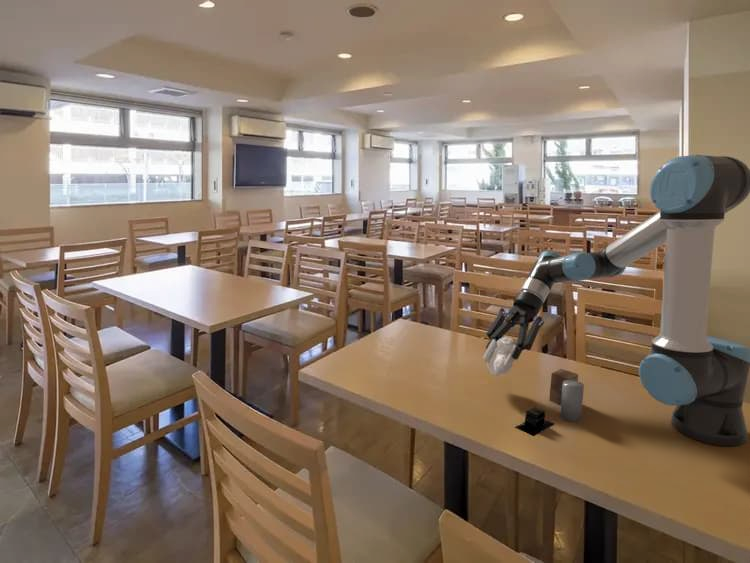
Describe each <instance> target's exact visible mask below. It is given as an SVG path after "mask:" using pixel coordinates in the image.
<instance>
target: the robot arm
mask: <svg viewBox="0 0 750 563" xmlns="http://www.w3.org/2000/svg"><path fill="white" fill-rule="evenodd" d="M749 194H750V168H749V166H747V164H746V163H745V162H743V161H741V160H740V159H738V158H735V157H731V156H726V155H721V156H720V155H719V156H716V155H715V156H714V155H702V154H691V155H690V154H689V155H681V156H677V157H674V158H671V159H670V160H668V161H666V162H665V163H663V165H661V167H660V168H657V171H656V172H655V174H654V175H653V177H652V179H651V182H650V186H649V196H650V200H651V201H652V203H653V204H654V207H656V208H657V209H658V210H659V211H657V212H656V213H655V214H653V215H651V216H650V217H649V218H646V220H644V221H643V222H641V223H640V224H638V225H636V226H635V227H634V228H633V229H632V228H631V229H630V230H629V231H627V232H626V233H624V234H623V235H622V236H619V238H617V239H616V240H615V241H613V242H611V243H610V244H609V245H607V246H605V247H604V248H602V249H601V250H599V251H596V252H584V251H583V252H573V253H570V254H566V255H561V254H560V253H558V252H555V251H550V250H545V251H542V252H541V253H540V255H539V256H538V257H537V259H536V260H535V262H534V263H533V265H532V268H531V270H529V273H528V275H527V277H526V279H525V281H524V282H523V284H522V286H521V287H520V289H519V292H518V294H517V295H516V297H515V299H514V301H513V305H512V306H511V307H510V308H509V309H504V307H501V308H500V309H499V310H498V311H499V312H498V315H497V316H496V318H495V319H494V320H493V322H492V323H491V325H490V327H489V328H488V330H487V331H486V336H487V338H488V339H489V341H488V342H487V344H486V346H485V352H484V354H483V355H482V360H483V361H484V362H485V363H486V364H488V363H489V360H490V358H491V356H492V354H493V353H494V352H495V350H496V348H498V346H497V340H499V339H502V337H505V335H506V334H507V332H509V331H510V330H511V328H514V327H515V326H517V325H518V326H519V331H518V336H517V341H516V342H515V344H516V345H513V347H512V349H511V350H510V351H509V354H508V356H507V358H506V360H505V362H504V364H503V365H504V366H505V367H506V369H507V370H509V369H510V368H511V366H512V367H513V365H514V364H513V363H514V362H515V360H516V361H517V360H518V359H519V357H520V356H521V354H522V352H523V351H524V350H527V351H530V350H532V347H533V345H534V342H535V340H536V337H537V336H538V334H539V331H540V329H541V327H542V326H543V325H544V324H545V321H544V319H543V317H542V316H541V315H540V316H538V314H540V313H539V312H541V311H540V310H541V309H542V307H543V305H544V303H545V301H546V299H547V297H548V295H549V293H550V291H551V290H552V288H553V286H554V284H561V283H568V282H579V281H586V280H593V279H605V278H606V279H607V278H613V277H617V276H620V275H622V274H623V273H624V272H625V270H626V268H627V266H629V265H631V264H632V263H634V262H636V261H638V260H639V259H641V258H643V257H644V256H646V255H648V254H649V253H651V252H653V251H655V250H656V249H658V248H659V247H662V246H663V245H665V253H664V254H665V255H664V256H665V257H664V268H663V269H664V273H663V288H662V301H661V302H662V303H661V315H660V316H661V317H660V329H659V330H660V332H659V333H658V335H656V336H655V337H654V338H652V340H651V349H650V350H651V351H650V354H648V355H647V356H645V357H644V359H642V361H640V364H639V366H638V377H639V379H640V382H641V385H642V387H643V388H644V389H645V390H646V392H647V393H648V395H650V397H652V398H653V399H654V400H656V401H657V402H660V403H661V404H664V405H667V406H673V407H674V406H675V408H674V409H673V411H672V413H671V419H670V423H671V425H672V427H673V428H674V429H675V430H676V431H677V432H679V433H681V434H682V435H684V436H686V437H688V438H690V439H693V440H695V441H698V442H701V443H703V444H709V445H713V446H719V447H738V446H741V445H744V444H745V443H746V440H747V435H748V428H747V425H746V420H745V415H744V411H743V404H744V397H745V394H746V393H745V392H746V388H747V383H748V377H749V373H750V347H749V346H747V345H745V344H743V343H741V342H738V341H735V340H731V339H727V338H723V337H718V336H713V335H707V327H708V315H709V314H708V313H709V303H710V302H709V301H710V289H711V288H710V287H711V277H712V264H713V252H714V241H715V240H714V238H715V229H716V228H717V227H718V225H720V224H722V223H723V222H724V221H725V214H726V213H729V211H731V210H733V209H735V208H737V207H738V206H739V205H741V204H742V203H743V202H744V201H745V200H746V199H747V197H749ZM531 323H532V324H531ZM530 324H531V326H530ZM529 326H530V329H529ZM527 332H528V333H527ZM511 369H512V368H511ZM511 369H510V370H511Z"/></svg>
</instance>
